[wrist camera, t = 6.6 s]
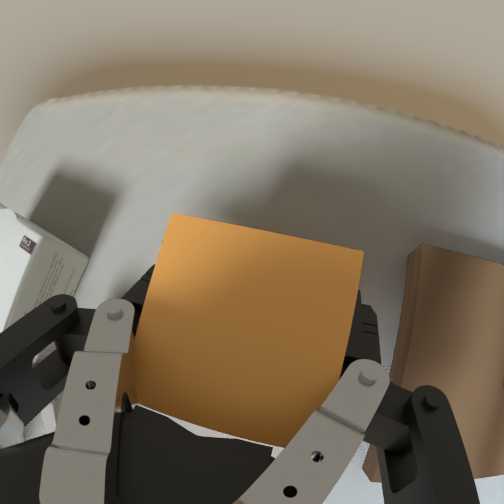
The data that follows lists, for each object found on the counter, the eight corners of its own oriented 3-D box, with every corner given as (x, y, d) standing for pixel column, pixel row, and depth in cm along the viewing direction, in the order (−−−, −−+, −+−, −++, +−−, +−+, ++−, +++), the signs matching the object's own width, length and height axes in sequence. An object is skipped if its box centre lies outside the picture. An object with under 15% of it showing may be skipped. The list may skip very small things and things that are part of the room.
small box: (-8, 309, 18) (-55, 296, 13) (30, 219, 20) (-14, 192, 15) (50, 365, 16) (-7, 364, 11) (94, 258, 18) (44, 230, 13)
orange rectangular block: (326, 296, 16) (364, 251, 8) (301, 402, 15) (317, 453, 7) (222, 273, 17) (172, 212, 9) (195, 375, 15) (121, 396, 8)
